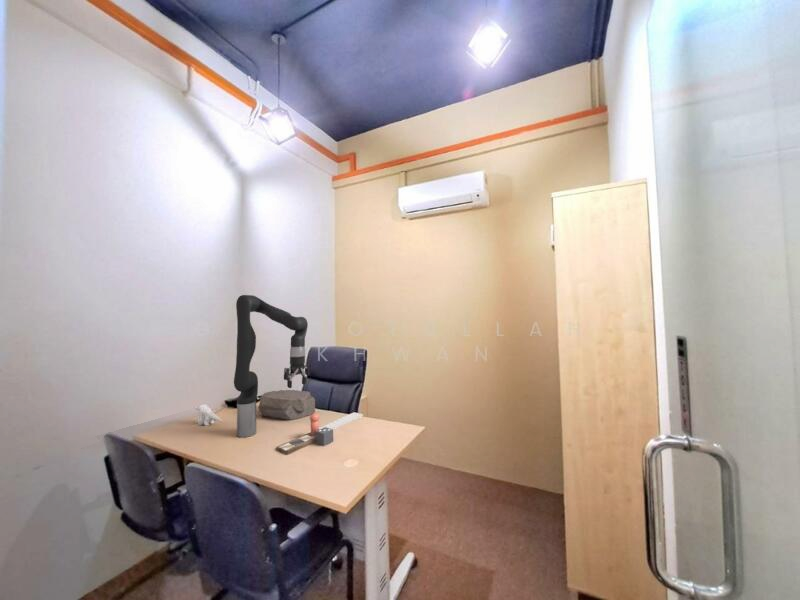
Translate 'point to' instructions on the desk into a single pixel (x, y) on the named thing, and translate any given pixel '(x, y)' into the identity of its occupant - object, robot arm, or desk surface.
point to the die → (324, 436)
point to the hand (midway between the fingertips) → (296, 386)
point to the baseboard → (342, 421)
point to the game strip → (296, 444)
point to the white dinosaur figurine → (206, 415)
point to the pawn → (314, 423)
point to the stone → (287, 404)
